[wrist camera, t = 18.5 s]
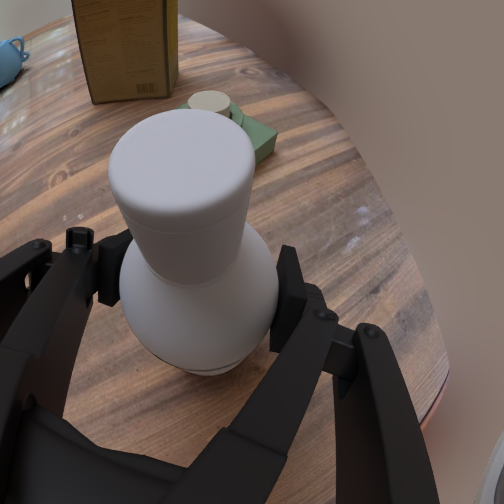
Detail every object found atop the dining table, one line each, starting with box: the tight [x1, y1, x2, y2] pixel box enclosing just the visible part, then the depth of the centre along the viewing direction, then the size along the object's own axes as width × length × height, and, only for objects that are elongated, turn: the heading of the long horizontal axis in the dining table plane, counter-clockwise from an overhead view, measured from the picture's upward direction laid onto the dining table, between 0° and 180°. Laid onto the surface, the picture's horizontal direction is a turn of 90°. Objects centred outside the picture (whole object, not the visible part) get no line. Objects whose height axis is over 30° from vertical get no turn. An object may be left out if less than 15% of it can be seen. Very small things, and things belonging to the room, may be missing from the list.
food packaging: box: [71, 0, 179, 104], centre depth 26 cm, size 13×9×25 cm
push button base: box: [174, 102, 278, 166], centre depth 30 cm, size 12×10×5 cm
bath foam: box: [108, 109, 279, 376], centre depth 14 cm, size 7×7×20 cm
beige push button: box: [188, 90, 231, 118], centre depth 27 cm, size 4×4×2 cm
